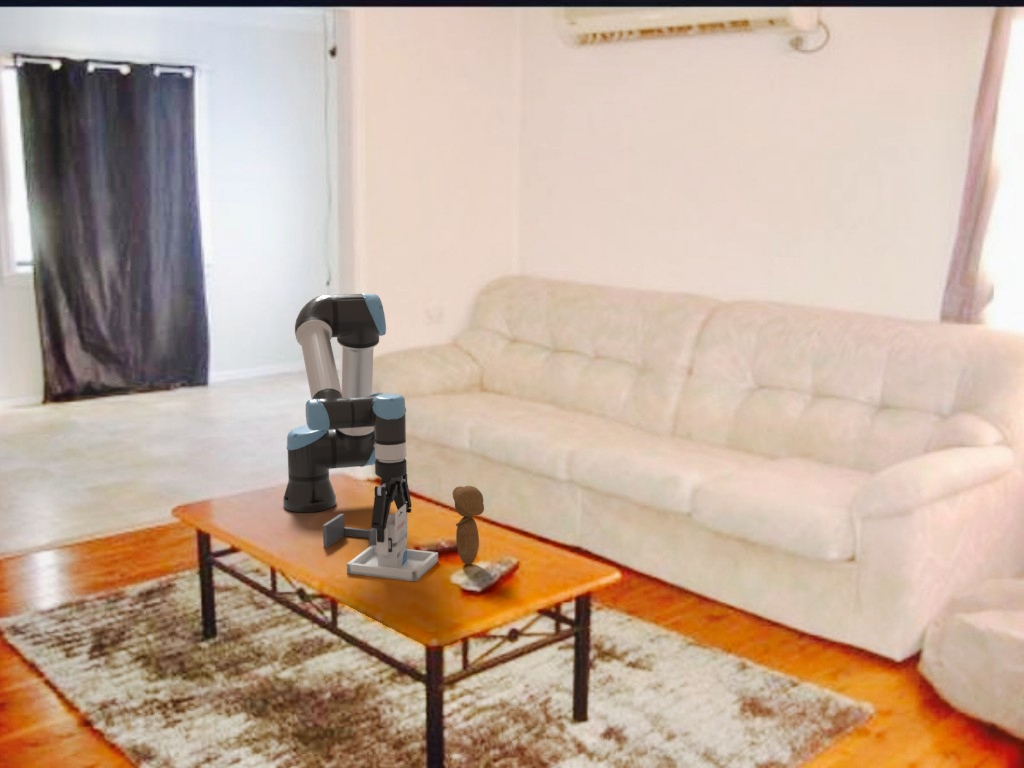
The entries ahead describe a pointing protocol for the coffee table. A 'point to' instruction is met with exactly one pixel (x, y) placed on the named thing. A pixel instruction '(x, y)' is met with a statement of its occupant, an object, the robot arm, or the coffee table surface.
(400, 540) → the ink box
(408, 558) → the tray
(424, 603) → the coffee table surface
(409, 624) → the coffee table surface
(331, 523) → the bay
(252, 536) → the coffee table surface
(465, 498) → the figurine
